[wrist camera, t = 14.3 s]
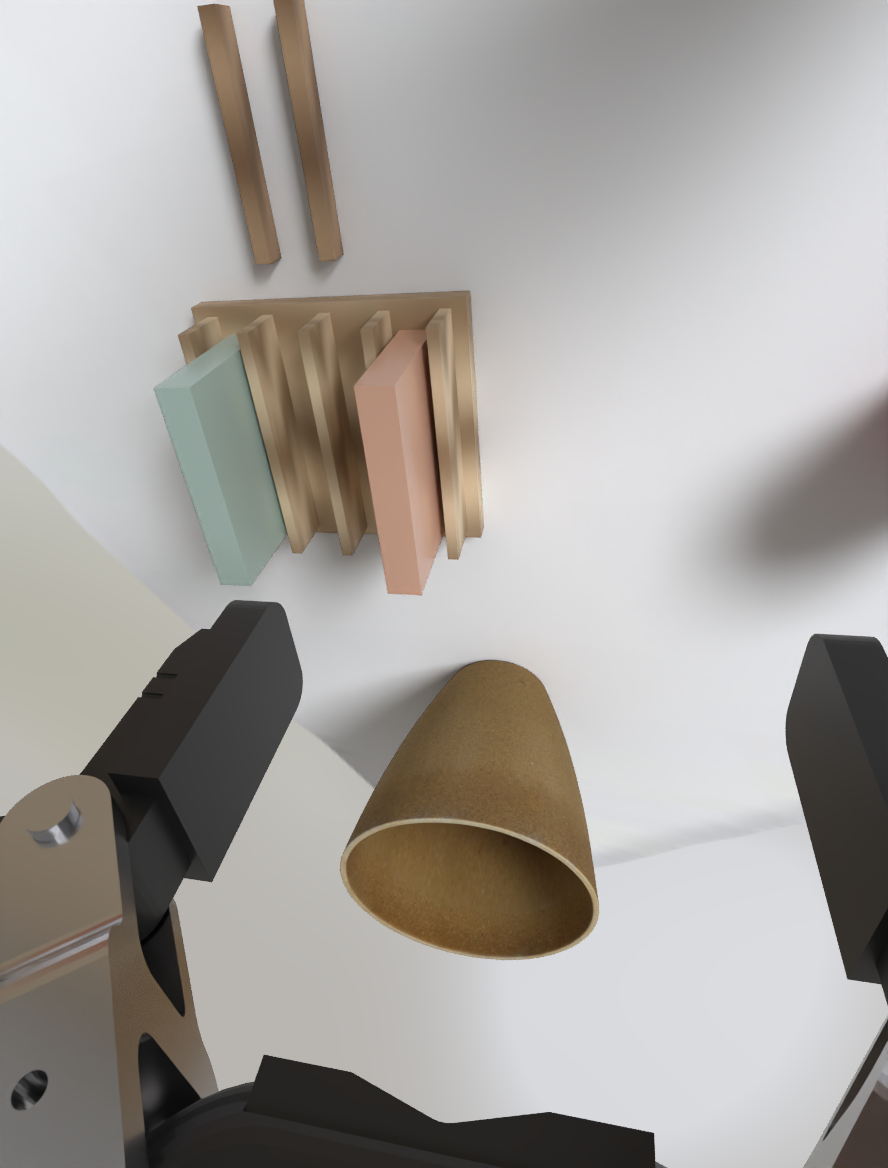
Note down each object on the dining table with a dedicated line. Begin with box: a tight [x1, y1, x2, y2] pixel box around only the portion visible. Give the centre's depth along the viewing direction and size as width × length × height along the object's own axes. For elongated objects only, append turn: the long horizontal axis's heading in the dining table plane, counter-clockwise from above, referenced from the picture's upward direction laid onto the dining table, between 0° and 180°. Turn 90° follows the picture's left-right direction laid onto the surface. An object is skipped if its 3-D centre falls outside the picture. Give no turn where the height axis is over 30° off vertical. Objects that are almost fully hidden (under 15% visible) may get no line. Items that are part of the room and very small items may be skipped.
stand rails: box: [197, 0, 343, 265], centre depth 32 cm, size 10×4×1 cm, turn 5°
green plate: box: [154, 334, 288, 586], centre depth 37 cm, size 11×2×8 cm, turn 5°
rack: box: [178, 291, 484, 560], centre depth 38 cm, size 14×15×4 cm
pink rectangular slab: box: [354, 329, 445, 595], centre depth 35 cm, size 11×2×8 cm, turn 5°
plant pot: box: [340, 660, 599, 960], centre depth 45 cm, size 15×15×16 cm
